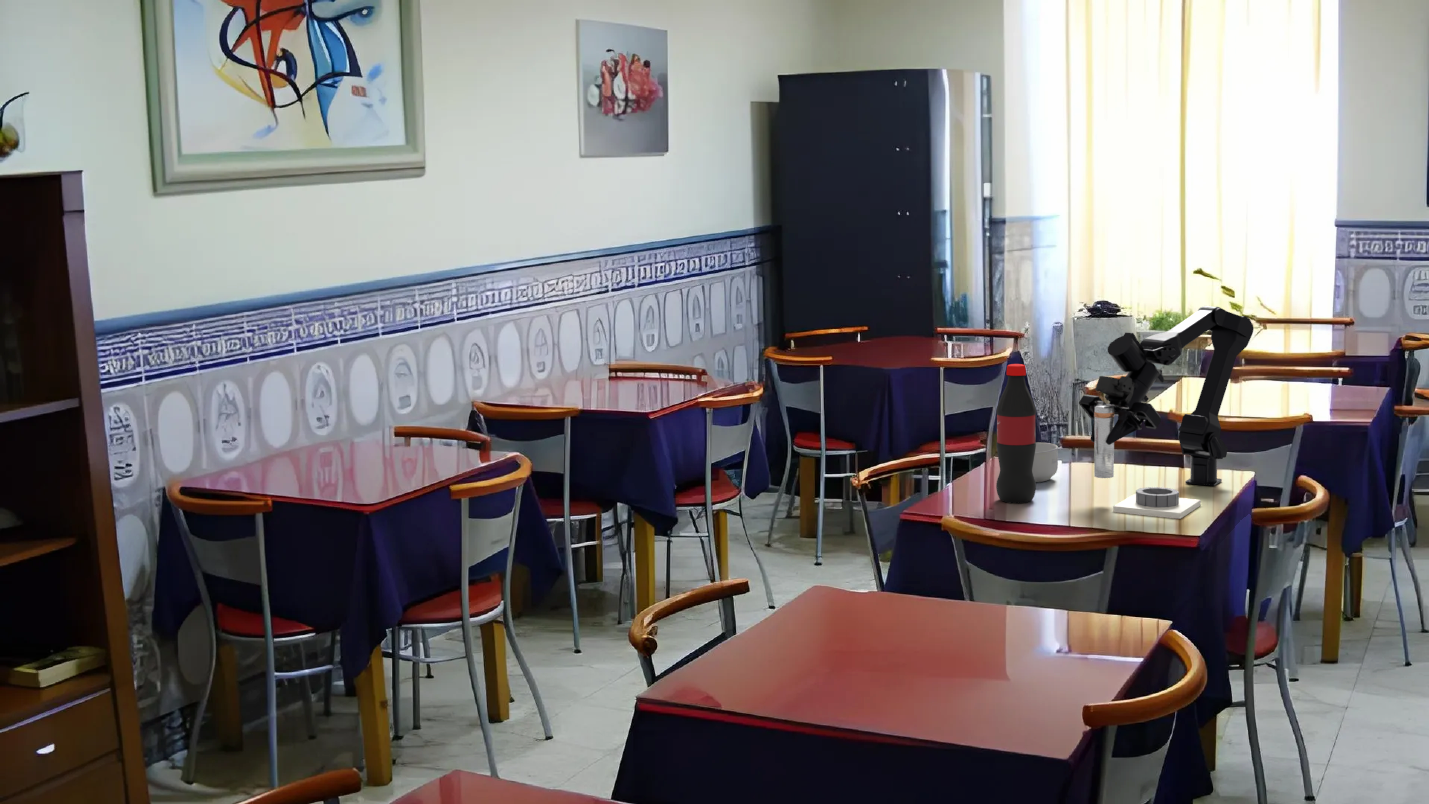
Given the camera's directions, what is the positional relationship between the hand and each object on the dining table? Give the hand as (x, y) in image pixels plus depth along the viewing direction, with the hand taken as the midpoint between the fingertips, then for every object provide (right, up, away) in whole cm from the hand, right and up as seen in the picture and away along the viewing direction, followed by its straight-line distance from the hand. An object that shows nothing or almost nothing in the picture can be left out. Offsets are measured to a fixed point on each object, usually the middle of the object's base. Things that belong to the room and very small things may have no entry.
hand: (1099, 442), depth 310 cm
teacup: (-8, -10, +30) cm, 33 cm away
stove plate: (+11, -14, -4) cm, 18 cm away
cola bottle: (-16, -13, +8) cm, 22 cm away
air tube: (+1, -7, +2) cm, 8 cm away
